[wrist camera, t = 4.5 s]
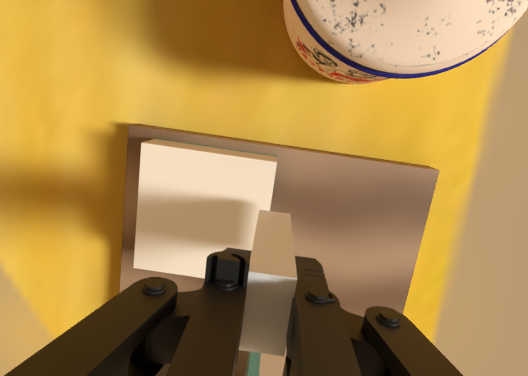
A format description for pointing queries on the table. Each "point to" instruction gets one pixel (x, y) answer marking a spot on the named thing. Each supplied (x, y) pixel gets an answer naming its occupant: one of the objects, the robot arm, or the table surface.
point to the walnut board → (319, 217)
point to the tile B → (264, 364)
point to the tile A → (197, 203)
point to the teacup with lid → (395, 35)
